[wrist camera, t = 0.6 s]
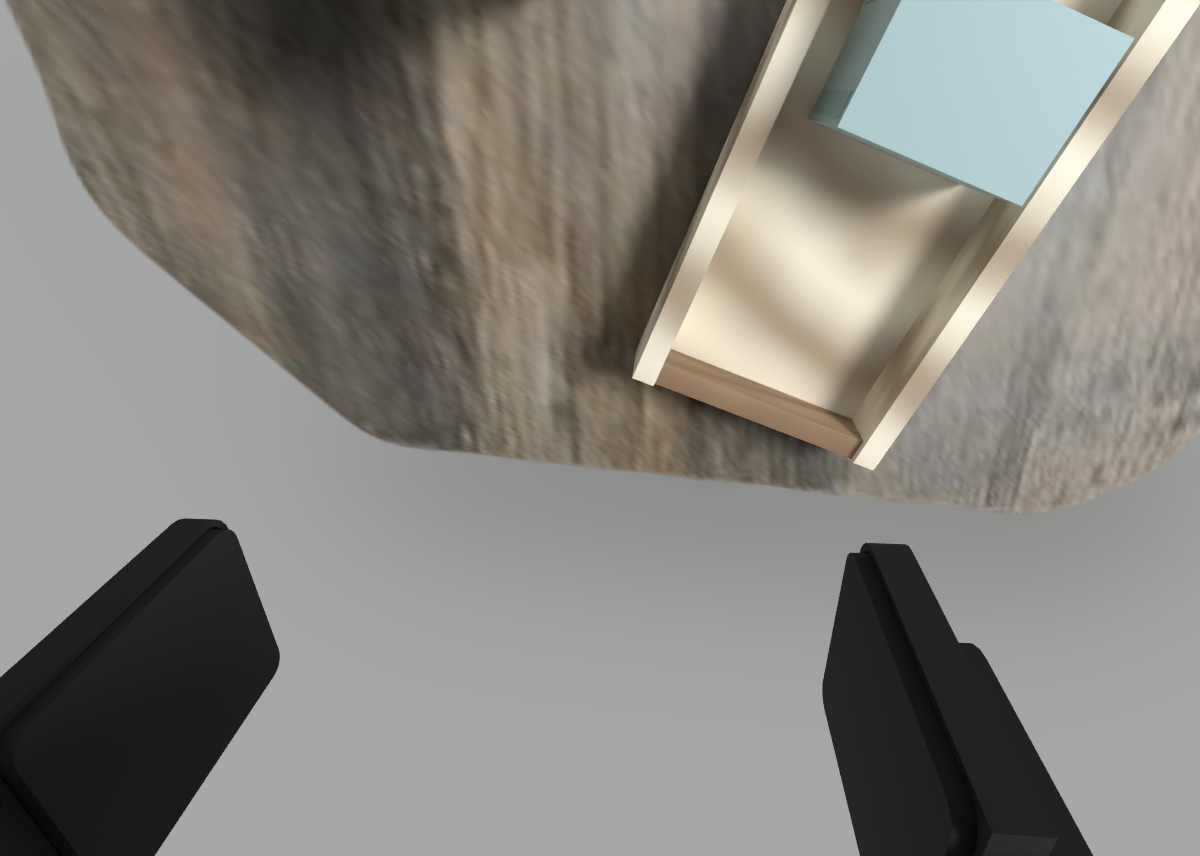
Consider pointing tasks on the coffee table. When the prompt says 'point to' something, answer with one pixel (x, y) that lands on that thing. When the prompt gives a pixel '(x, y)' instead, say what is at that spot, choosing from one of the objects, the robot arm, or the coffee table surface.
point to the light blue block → (969, 86)
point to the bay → (851, 247)
